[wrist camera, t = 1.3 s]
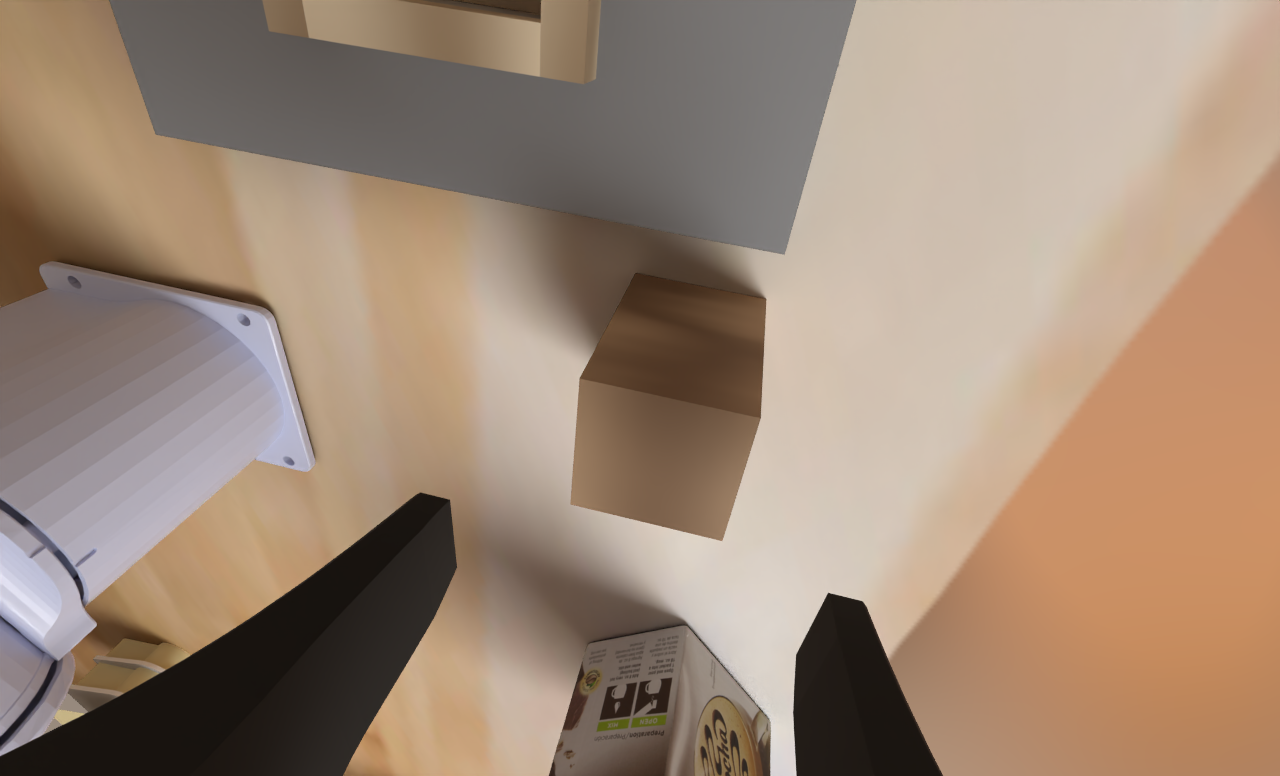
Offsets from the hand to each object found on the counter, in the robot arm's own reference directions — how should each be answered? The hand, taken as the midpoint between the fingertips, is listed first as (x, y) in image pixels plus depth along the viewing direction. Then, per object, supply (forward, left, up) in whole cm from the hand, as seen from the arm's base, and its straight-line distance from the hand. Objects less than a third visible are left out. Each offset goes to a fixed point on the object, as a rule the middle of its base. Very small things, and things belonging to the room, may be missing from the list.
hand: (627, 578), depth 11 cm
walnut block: (0, 0, -9) cm, 9 cm away
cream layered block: (-32, -35, -10) cm, 48 cm away
